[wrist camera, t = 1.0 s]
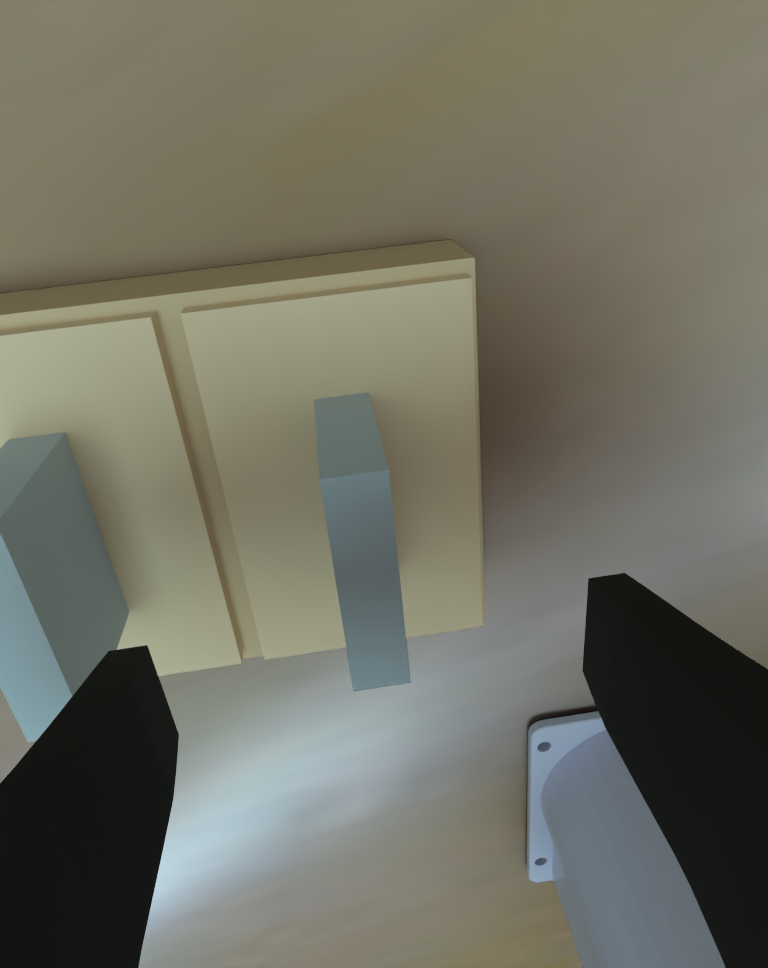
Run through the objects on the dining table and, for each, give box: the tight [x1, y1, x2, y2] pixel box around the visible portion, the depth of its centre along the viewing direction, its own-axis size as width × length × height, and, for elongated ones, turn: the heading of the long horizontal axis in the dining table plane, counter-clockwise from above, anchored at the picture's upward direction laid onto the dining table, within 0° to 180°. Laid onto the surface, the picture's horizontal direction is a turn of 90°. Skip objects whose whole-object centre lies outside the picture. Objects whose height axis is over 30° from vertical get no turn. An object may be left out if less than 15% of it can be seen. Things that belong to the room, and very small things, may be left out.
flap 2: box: [181, 273, 482, 691], centre depth 15 cm, size 9×6×4 cm, turn 5°
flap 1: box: [0, 311, 243, 742], centre depth 14 cm, size 9×6×4 cm, turn 5°
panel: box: [0, 240, 485, 659], centre depth 17 cm, size 10×13×2 cm
